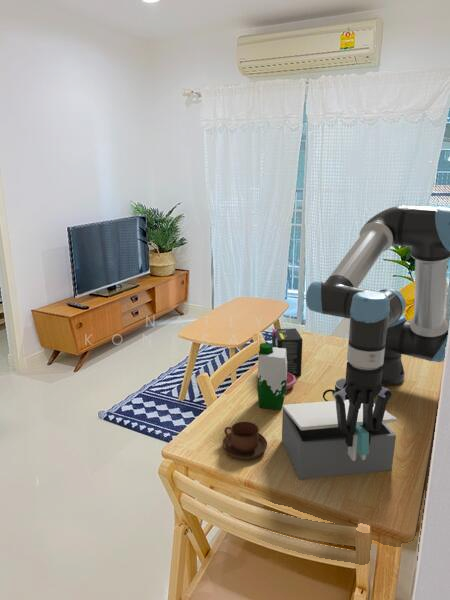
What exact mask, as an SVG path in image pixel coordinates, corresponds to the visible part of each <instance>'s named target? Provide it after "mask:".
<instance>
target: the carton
mask: <svg viewBox="0 0 450 600" xmlns="http://www.w3.org/2000/svg"><path fill="white" fill-rule="evenodd" d="M281 422H282V423H281V424H282V425H281V443H282V445H283V447H284V449H285V452H286V454H287V456H288V458H289V461H290V462H291V465H292V467H293V470H294V471H295V474H296V476H297V479H298V480H299V481H300V480H307V479H317V478H318V479H319V478H326V477H336V476H347V475H357V474H365V473H366V474H367V473H376V472H385V471H387V472H388V471H392V470H393V463H394V455H395V446H396V438H397V435H396V434H395V432H394V431H393V430H392V429H391V428H390V426H388V423H382V424H381V428H380V430H378V431H376V430H374V431H373V432H374V435H373V436H371V440H370V444H369V455H366V458H365V460H362V459H361V457H360V456H359V454H358V453H357V450H356V461H352V459H351V458H350V456H349V455H348V446H347V444H346V442H345V438H346V434H343V433H342V432H341V430H340V429H339V427H334V428H323V429H311V430H300V428H299V427H298V426H297V425H296V424H295V422H294V421H293V420H292V419H291V417H290V416H289V415H288V414H287V412H286V411H285V410H284V409H283V408H282V421H281ZM360 426H361V427H362V428H363V425H360Z"/></svg>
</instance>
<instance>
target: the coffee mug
mask: <svg viewBox="0 0 450 600" xmlns="http://www.w3.org/2000/svg"><path fill="white" fill-rule="evenodd" d="M345 382H346V377H344V378H339V379H336V380H335V382H334V389H326V390H325V391H324V392H323V394H322V398H323V400H324V402H325V401H328V400H327V399H326V394H327V393H329V392H330V393H332V392H333V391H337V392H338V391H340V390H342V389H343V386H344V384H345ZM345 400H349V397H348V395H347V394H346V395H345Z"/></svg>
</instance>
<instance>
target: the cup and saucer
mask: <svg viewBox="0 0 450 600" xmlns="http://www.w3.org/2000/svg"><path fill="white" fill-rule="evenodd" d="M228 430H230V433H228ZM224 434H225V435H226V436H224V437H223V439H222V444H221V445H222V447H223V450H224V452H226V453H227V454H228V455H230V456H232V457H234V458H237V459H241V460H242V459H243V460H250V459H254V458H257V457H259V456H261V455H263V453H264V452H266V450H267V448H268V440H267V439H266V438H265V437H264V435H263V434H261V433H259V426H257V425H256V423H253V422H250V421H239V422H236V423H234V424H232V425H231V427H230V426H226V427H224Z"/></svg>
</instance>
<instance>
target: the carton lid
mask: <svg viewBox="0 0 450 600" xmlns="http://www.w3.org/2000/svg"><path fill="white" fill-rule="evenodd" d="M344 403H345V411H346V421H347V415H348V409H349V400H345V401H344ZM375 404H376V403H374V407H375ZM374 407H373V411H374ZM283 409H284V410H285V411H286V412H287V414H288V415H289V416H290V417H291V419H292V420H293V421H294V422H295V424H296V425H297V426H298V427H299V428H300V430H311V429H323V428H334V427H338V421H337V410H336V400H330V401H329V400H327V401H325V400H324V401H317V402H316V401H314V402H303V403H301V402H300V403H292V404H290V403H288V404H283V406H282V410H283ZM382 423H386V424H389V423H398V418H397V417H396V416H394V415H393V414H391V413H389V412H388V411H387V410H385V413H384V417H383V420H382ZM360 425H363V403H362V404H361V408H360V409H359V412H358V418H357V423H356V429H355V433H356V434H357V435H358V439H357V451H358V452H359V453H360V454H361V455H369V432H367V431H366V430H365V429H364V428H362V427H361V426H360Z"/></svg>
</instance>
